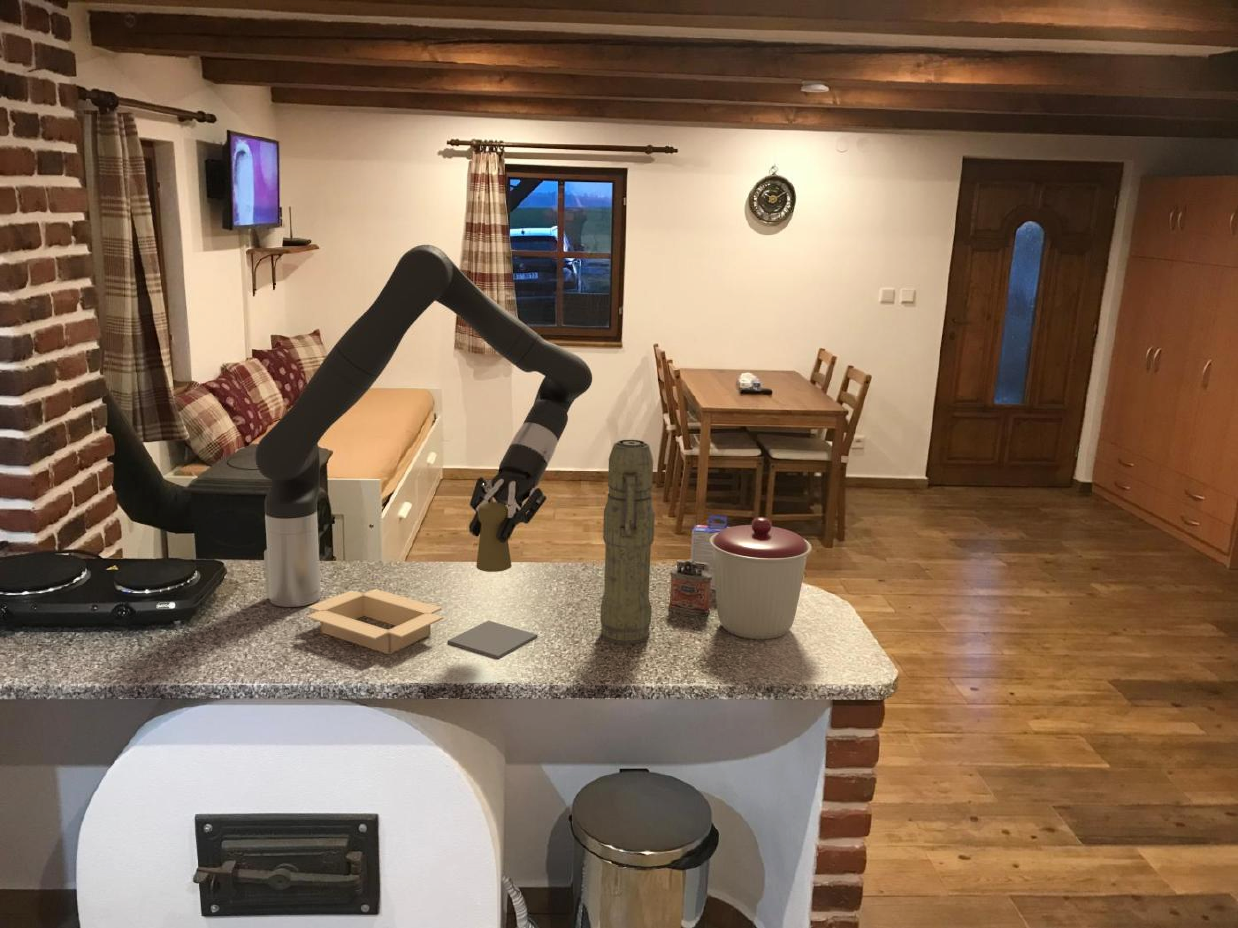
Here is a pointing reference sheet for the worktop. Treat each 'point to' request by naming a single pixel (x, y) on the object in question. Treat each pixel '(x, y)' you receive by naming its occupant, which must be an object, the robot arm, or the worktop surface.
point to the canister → (758, 578)
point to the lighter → (690, 588)
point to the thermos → (628, 544)
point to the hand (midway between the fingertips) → (486, 536)
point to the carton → (380, 606)
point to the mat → (492, 639)
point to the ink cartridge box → (706, 544)
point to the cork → (492, 539)
